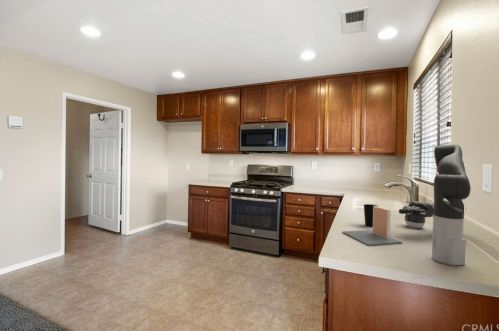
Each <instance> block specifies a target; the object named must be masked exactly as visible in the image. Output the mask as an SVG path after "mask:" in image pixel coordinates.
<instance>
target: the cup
mask: <svg viewBox="0 0 499 331" xmlns="http://www.w3.org/2000/svg"><path fill="white" fill-rule="evenodd" d="M373 206H378V204H373V203H372V204H370V203H365V204H363V211H364V212H363V214H364V226H365V225H366V226H365V227H368V226H369V228H373Z"/></svg>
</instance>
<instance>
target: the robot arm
mask: <svg viewBox="0 0 499 331" xmlns="http://www.w3.org/2000/svg"><path fill="white" fill-rule="evenodd" d="M433 150H434V151H433V153H434V161H435V165H436V168H437V173H438V174H436V175H435V176H434V179H433V202H419V203H418V204H417V205H416V206H412V207H408V206H407V205H404V206H402V208H399V209H398V213H399V214H401V215H405V214H411V215H418V216H419V217H421V218H425V219H426V218H432V220H433V221H432V244H431V246H432V248H431V259H433V260H434V261H436V262H438V263H442V264H444V265H450V266H451V267H453V266H462V265H464V266H465V264H466V251H467V250H466V249H467V248H466V247H467V246H466V244H467V240H466V239H465V238H464V226H465V225H464V222H465V218H464V217H465V213H464V206H465V204H463V203H464V202H463V200H465V199H468V198H469V196H470V194H471V191H472V189H471V188H472V187H471V183H470V179H469V177H468V175H467V173H466V167H465V163H464V161H463V150H462V147H461V146H460V144H457V143H453V144H452V143H451V144H442V145H437V146H435V147H434V149H433ZM444 199H445V200H444Z"/></svg>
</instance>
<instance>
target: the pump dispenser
mask: <svg viewBox="0 0 499 331" xmlns="http://www.w3.org/2000/svg"><path fill="white" fill-rule="evenodd" d="M418 203H420V202H419V201H418V200H413V201H411V202H409V203H408V206H407V208H408V207H412V206H416V205H417V204H418ZM404 221H405V224H406V225H407V226H408V227H410V228H413V229H422V228H423V227H424V226H425V224H426V221H427V220H426V217H425V218H421V217H419V216H418V215H411V214H404Z"/></svg>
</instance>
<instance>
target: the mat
mask: <svg viewBox="0 0 499 331" xmlns="http://www.w3.org/2000/svg"><path fill="white" fill-rule="evenodd" d="M341 233H342V234H343V235H346V236H347V237H349V238H352V239H354V240H356V241H357V242H360V243H361V244H363V243H364V245H365V244H366V246H367V247H373V246H375V247H376V246H386V245H387V246H388V245H401V244H403V241H400V240H399V239H396V238H394V237H391V236H390V239H386V238H384V237H381V236H379V235H377V234H374V233H373V229H362V230H345V231H342V232H341Z"/></svg>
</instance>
